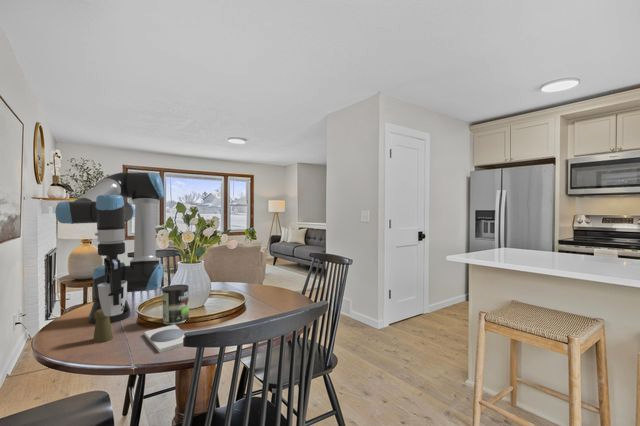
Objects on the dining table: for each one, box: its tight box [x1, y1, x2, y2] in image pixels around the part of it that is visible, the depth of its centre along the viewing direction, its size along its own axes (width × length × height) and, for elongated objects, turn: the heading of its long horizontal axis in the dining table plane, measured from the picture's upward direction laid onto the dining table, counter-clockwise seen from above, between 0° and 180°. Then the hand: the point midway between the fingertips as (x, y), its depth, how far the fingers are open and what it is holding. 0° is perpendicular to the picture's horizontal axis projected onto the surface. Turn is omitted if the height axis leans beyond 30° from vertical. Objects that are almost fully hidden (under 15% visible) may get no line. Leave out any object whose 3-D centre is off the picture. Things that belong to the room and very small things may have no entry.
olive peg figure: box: [92, 309, 114, 344], centre depth 116 cm, size 6×6×11 cm
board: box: [143, 324, 186, 353], centre depth 116 cm, size 20×11×2 cm, turn 42°
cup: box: [98, 280, 128, 316], centre depth 105 cm, size 8×8×10 cm
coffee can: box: [161, 284, 190, 326], centre depth 135 cm, size 10×10×14 cm
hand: (113, 311), depth 105 cm, fingers closed on cup, 8 cm apart
